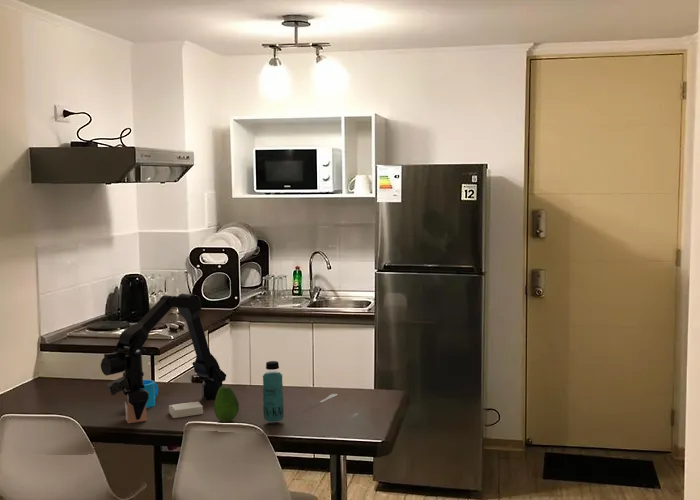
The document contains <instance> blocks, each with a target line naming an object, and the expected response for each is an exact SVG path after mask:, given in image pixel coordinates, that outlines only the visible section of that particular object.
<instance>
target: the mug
mask: <svg viewBox="0 0 700 500" xmlns="http://www.w3.org/2000/svg"><path fill="white" fill-rule="evenodd" d="M143 384H144V388H141V389H145V390H146V391H147V392H148V395H149V399H148V401H147V403H146V409H150V408H153V407H155V406H156V399H157V397H158V395H159V390H160V389H159V385H158V384H157V383H156V382H155V380H152V379H143Z"/></svg>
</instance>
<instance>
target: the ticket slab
mask: <svg viewBox="0 0 700 500" xmlns="http://www.w3.org/2000/svg"><path fill="white" fill-rule="evenodd" d="M168 413H169V415H170V416H171V417H172V418H173V419H177V418H183V417H189V416H197V415H203V414H204V406H203V405H202V404H201V402H199V401H192V402H191V401H190V402H184V403H182V402H181V403H177V404H176V403H175V404H169V405H168Z"/></svg>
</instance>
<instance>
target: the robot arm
mask: <svg viewBox="0 0 700 500" xmlns="http://www.w3.org/2000/svg"><path fill="white" fill-rule="evenodd" d="M173 308H176V309H177V311H178V313H179V314H180V315H181V316H182V318H183V319H184V321H185V322H186V325H187V329H188V332H189V336H190V339H191V342H192V346H193V349H194V351H195V355H196V358H195V361H193V362H192V366H193V370H194V373H196V375H197V376H198V378H199V380H200V381H202V383H203V384H202V385H201V395H202V398H204V399H205V400H206V401H212V400H215V399H216V396H217V392H218V390H219V388H220V387H221V386H223V382H224V381H226V378H227V374H226V373H225V372H224V371H223V369H221V367H220V364H219V363H218V360H217V358H215V356H214V355H213V354H212V353H211V351H210V348H209V345H208V341H207V337H206V334H205V330H204V328H203V324H202V321H201V316H200V315H201V312H202V304H201V299H200V297H199V296H198V295H197V294H193V293H192V294H191V293H180V294H178V296H177V295H168V294H164V295H162V296H161V297H160V298H159V300H158V301H157V303H155V304H154V306H152V308H150V310H148V311H147V312H146V314H145V315H144V316H143V317H141V319H140V320H139V321H138V322H136V323H135V324H133V325H131V326H128V328H126V329H124V331H123V332H121V334H119V340H118V342H117V343H116V345H115V347H114V349H113V352H111V353H109V352H108V353H104V354H103V358H102V360H101V362H100V370H101V372H102V373H103V374H104V376H111V375H115V374H119V373H122V376H121V377H119V378H116V379H114V380H112V381H110V382H108V383H107V384H106V387H107V389H108V391H109V393H110V395H111V396H114V395H116V394H117V393H119V392H122V393H123V394H124V395H125V396H126V397H127V401H128V402H129V403H130V404H132V405H133V408H134V412H135V417H136V420H139V419H140V418H141V415H142V412H143V410H144V407H145V405H146V403H147V401H148V399H149V395H148V392H147V391H146V390H145V389H141V388H144V384H143V380H144V375H145V373H144V371H143V355H146V354H148V351H147V350H146V349H145V348H144V345H145V343H146V342H147V341H148V338H149V334H150V332H151V331H152V330H153V329H154V327H156V326H157V325H158V324H159V322H160V321H161V320H162V319H163V318H164V317H165V316H166V315H167V314H168V313H169V312H170V311H171V310H172V309H173Z"/></svg>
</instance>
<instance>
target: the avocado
mask: <svg viewBox="0 0 700 500" xmlns="http://www.w3.org/2000/svg"><path fill="white" fill-rule="evenodd" d="M239 405H240V403H239V400H238V398H237V396H236V393H235V392H234V390H233V388H231V387H230V386H229V385H226V384H224V385H222V386H221V387H220V388H219V390H218V392H217V396H216V399H214V403H213V409H214V414H215V416H216V418H217V419H218V421H220V422H222V423H229V422H231V421H233V420H234V419H235V418H236V417H237V416H238V413H239V410H240V407H239Z"/></svg>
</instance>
